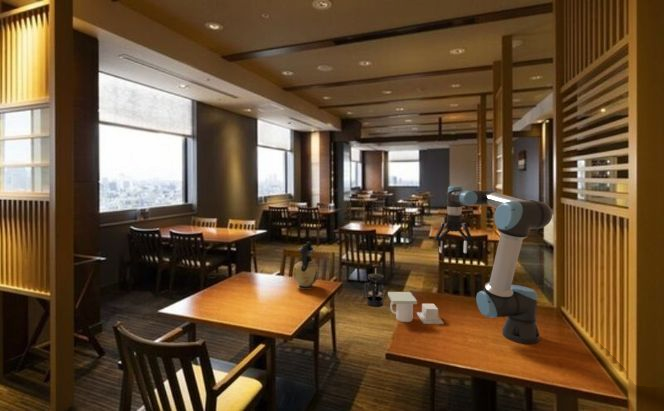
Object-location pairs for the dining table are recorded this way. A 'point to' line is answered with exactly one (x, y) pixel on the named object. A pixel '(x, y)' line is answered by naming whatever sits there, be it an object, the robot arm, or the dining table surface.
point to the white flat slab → (402, 298)
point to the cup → (403, 312)
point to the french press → (374, 290)
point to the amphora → (306, 268)
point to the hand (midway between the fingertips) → (452, 252)
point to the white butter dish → (429, 314)
